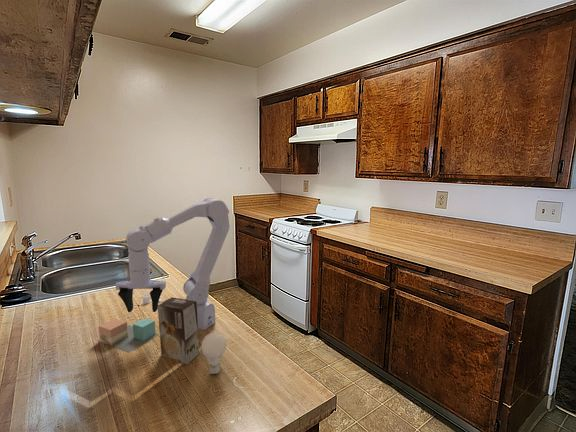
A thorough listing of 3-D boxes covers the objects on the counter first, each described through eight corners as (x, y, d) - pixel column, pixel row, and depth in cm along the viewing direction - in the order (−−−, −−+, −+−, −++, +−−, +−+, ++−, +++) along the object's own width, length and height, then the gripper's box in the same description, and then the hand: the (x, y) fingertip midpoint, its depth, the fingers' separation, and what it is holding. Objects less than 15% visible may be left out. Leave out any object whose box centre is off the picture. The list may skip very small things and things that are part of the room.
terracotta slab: (127, 329, 100) (126, 321, 100) (111, 337, 96) (110, 329, 95) (115, 325, 103) (115, 318, 102) (99, 333, 98) (98, 326, 98)
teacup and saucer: (163, 301, 131) (163, 292, 130) (153, 310, 123) (152, 300, 122) (143, 300, 132) (142, 291, 131) (132, 309, 124) (131, 299, 123)
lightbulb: (206, 365, 88) (204, 327, 86) (229, 365, 88) (228, 328, 86) (199, 380, 81) (197, 340, 80) (224, 381, 81) (222, 340, 80)
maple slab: (128, 336, 101) (127, 329, 100) (111, 345, 96) (111, 337, 96) (116, 332, 103) (115, 325, 103) (100, 341, 98) (99, 333, 98)
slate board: (159, 337, 102) (159, 334, 102) (128, 355, 92) (128, 352, 92) (129, 328, 108) (129, 325, 108) (97, 344, 99) (97, 341, 98)
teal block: (155, 334, 102) (154, 320, 102) (143, 340, 98) (142, 327, 98) (145, 331, 104) (144, 318, 104) (133, 337, 100) (132, 324, 100)
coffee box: (200, 352, 94) (198, 300, 91) (186, 365, 88) (183, 310, 85) (175, 346, 97) (172, 296, 94) (160, 358, 91) (156, 305, 89)
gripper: (168, 264, 102) (170, 305, 104) (122, 265, 102) (125, 305, 104) (159, 271, 95) (162, 314, 97) (110, 272, 95) (114, 315, 97)
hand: (142, 310), depth 100 cm, fingers open, 7 cm apart
